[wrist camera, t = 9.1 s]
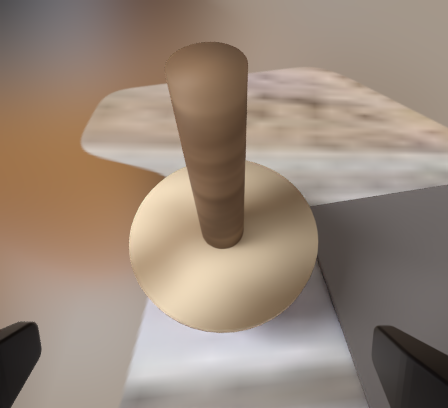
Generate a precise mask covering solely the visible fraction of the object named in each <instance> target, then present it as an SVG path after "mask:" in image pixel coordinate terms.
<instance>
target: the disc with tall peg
mask: <svg viewBox="0 0 448 408" xmlns="http://www.w3.org/2000/svg"><path fill="white" fill-rule="evenodd" d="M165 75H166V80H167V84H168V88H169V93H170V97H171V101H172V106H173V110H174V114H175V119H176V123H177V127H178V132H179V136H180V141H181V145H182V149H183V154H184V158H185V162H186V167H184V168H182V169H180V170H178V171H176V172H174V173H172V174H171V175H169V176H168V177H166V178H165V179H164V180H163V181H161V182H160V183H159V184H157V185H156V187H154V188H153V189H152V190H151V192H150V193H149V194H148V195H147V197H146V198H145V199H144V201H143V202H142V204H141V205H140V207H139V209H138V211H137V213H136V215H135V217H134V220H133V224H132V227H131V232H130V238H129V253H130V261H131V265H132V268H133V272H134V274H135V276H136V278H137V281H138V283H139V285H140V286H141V288H142V289H143V291H144V292H145V294H146V295H147V296H148V297H149V298H150V299H151V300H152V302H153V303H154V304H155V305H156V306H157V307H158V308H159V309H160V310H161V311H163V312H164V313H165V314H166V315H168V316H169V317H171V318H172V319H174V320H176V321H177V322H179V323H181V324H183V325H186V326H188V327H191V328H194V329H198V330H202V331H206V332H216V333H228V332H238V331H243V330H248V329H251V328H254V327H257V326H260V325H262V324H264V323H266V322H268V321H270V320H272V319H274V318H275V317H276V316H278V315H279V314H281V313H282V312H284V311H285V310H286V309H287V308H288V307H289V306H290V305H291V304H292V303H293V302H294V301H295V300H296V298H297V297H298V296H299V295H300V293H301V292H302V290H303V288H304V287H305V285H306V283H307V282H308V280H309V278H310V276H311V274H312V271H313V269H314V266H315V262H316V258H317V253H318V231H317V226H316V222H315V219H314V216H313V213H312V211H311V209H310V207H309V205H308V203H307V201H306V200H305V198H304V197H303V195H302V194H301V193H300V191H299V190H298V189H297V188H296V187H295V186H294V185H293V184H292V183H291V182H289V181H288V180H287V179H286V178H285V177H283V176H282V175H280V174H279V173H277V172H275V171H273V170H271V169H269V168H267V167H265V166H262V165H260V164H257V163H253V162H250V161H245V158H246V120H247V82H248V61H247V58H246V56H245V55H244V54H243V52H241V51H240V50H239V49H237V48H235V47H233V46H231V45H228V44H224V43H219V42H202V43H196V44H192V45H189V46H186V47H183V48H181V49H179V50H178V51H176V52H175V53H173V54H172V55H171V56H170V57H169V59H168V60H167V62H166V64H165Z"/></svg>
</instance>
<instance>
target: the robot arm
mask: <svg viewBox="0 0 448 408" xmlns="http://www.w3.org/2000/svg"><path fill="white" fill-rule="evenodd" d="M40 355H41V342H40V336H39V330H38V325H37V324H36V323H35V322H17V323H15V324H12V325H10V326H7V327H6V328H3V329H0V408H11V406H12V405H13V403H14V401H15V399H16V398H17V396H18V394H19V392H20V391H21V389H22V387H23V385H24V384H25V382H26V380H27V379H28V377H29V375H30V373H31V372H32V370H33V368H34V366H35V365H36V363H37V361H38V359H39V357H40ZM371 357H372V362H373V365H374V367H375V370H376V373H377V375H378V378H379V380H380V383H381V385H382V388H383V390H384V393H385V395H386V398H387V400H388V403H389V405H390V408H448V355H446V354H445V353H443V352H441V351H439V350H437V349H435V348H433V347H431V346H430V345H428V344H426V343H424V342H422V341H420V340H418V339H416V338H415V337H413V336H411V335H409V334H407V333H405V332H403V331H402V330H400V329H398V328H396V327H394V326H391V325H377V326H376V327H375V328H374V331H373V341H372V351H371Z"/></svg>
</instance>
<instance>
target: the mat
mask: <svg viewBox="0 0 448 408" xmlns="http://www.w3.org/2000/svg"><path fill="white" fill-rule="evenodd" d="M310 209H311V211H312V213H313V216H314V219H315V222H316V226H317V231H318V253H317V259H318V262H319V265H320V267H321V270H322V273H323V276H324V279H325V282H326V285H327V288H328V290H329V293H330V296H331V299H332V302H333V305H334V308H335V310H336V313H337V316H338V319H339V322H340V325H341V328H342V331H343V333H344V336H345V339H346V342H347V345H348V348H349V351H350V353H351V356H352V359H353V362H354V365H355V368H356V371H357V374H358V376H359V379H360V382H361V385H362V388H363V391H364V394H365V396H366V399H367V402H368V405H369V408H390V405H389V403H388V400H387V398H386V395H385V393H384V390H383V388H382V385H381V383H380V380H379V378H378V375H377V373H376V370H375V367H374V365H373V362H372V357H371V351H372V341H373V331H374V328H375V327H376V326H377V325H391V326H394V327H396V328H398V329H400V330H402V331H403V332H405V333H407V334H409V335H411V336H413V337H415V338H416V339H418V340H420V341H422V342H424V343H426V344H428V345H430V346H431V347H433V348H435V349H437V350H439V351H441V352H443V353H445V354H446V355H448V185H443V186H437V187H430V188H424V189H418V190H411V191H405V192H399V193H392V194H386V195H380V196H373V197H367V198H361V199H355V200H348V201H342V202H336V203H329V204H323V205H317V206H310Z"/></svg>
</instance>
